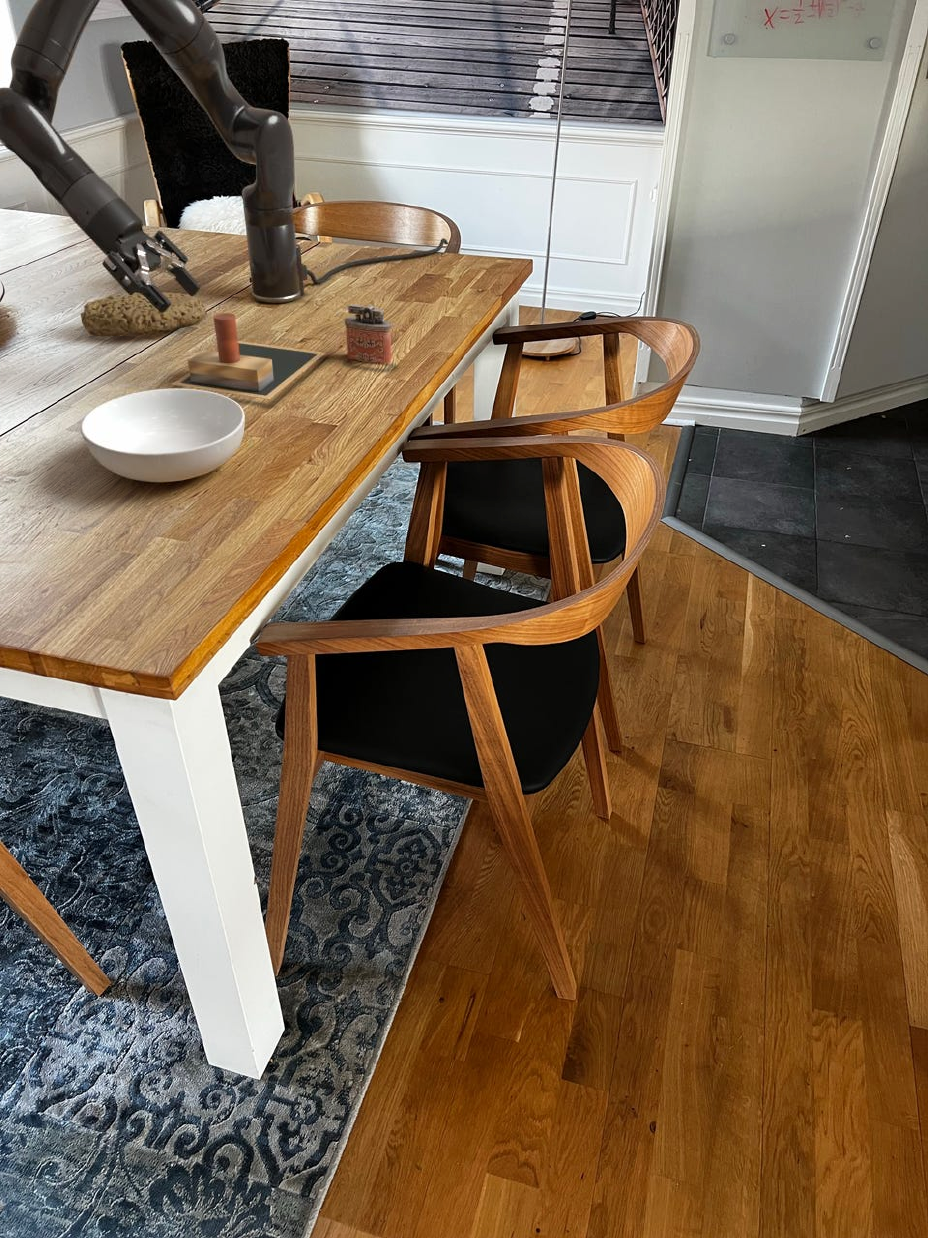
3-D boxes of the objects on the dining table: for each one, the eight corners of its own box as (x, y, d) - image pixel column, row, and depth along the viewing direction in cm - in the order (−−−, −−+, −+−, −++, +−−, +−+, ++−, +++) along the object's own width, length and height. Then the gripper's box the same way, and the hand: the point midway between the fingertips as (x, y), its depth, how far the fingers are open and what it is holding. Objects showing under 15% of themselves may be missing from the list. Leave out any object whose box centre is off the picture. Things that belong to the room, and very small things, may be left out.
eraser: (190, 381, 150) (180, 316, 144) (206, 370, 154) (197, 306, 148) (259, 391, 147) (252, 326, 141) (273, 380, 151) (267, 315, 145)
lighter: (395, 365, 161) (394, 305, 155) (387, 372, 158) (386, 312, 152) (351, 358, 163) (348, 299, 157) (343, 365, 160) (340, 306, 154)
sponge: (87, 351, 166) (195, 329, 164) (71, 305, 163) (181, 282, 161) (114, 339, 178) (215, 318, 176) (100, 295, 175) (203, 275, 173)
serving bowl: (170, 518, 118) (161, 468, 114) (58, 474, 127) (45, 426, 123) (281, 455, 132) (276, 409, 128) (173, 420, 141) (166, 375, 137)
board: (236, 346, 166) (236, 340, 165) (326, 359, 162) (325, 352, 161) (172, 391, 150) (170, 383, 149) (269, 406, 146) (268, 398, 145)
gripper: (84, 207, 134) (169, 298, 138) (141, 186, 145) (218, 271, 149) (61, 243, 138) (144, 330, 142) (118, 220, 149) (193, 302, 153)
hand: (182, 300), depth 145 cm, fingers open, 8 cm apart
